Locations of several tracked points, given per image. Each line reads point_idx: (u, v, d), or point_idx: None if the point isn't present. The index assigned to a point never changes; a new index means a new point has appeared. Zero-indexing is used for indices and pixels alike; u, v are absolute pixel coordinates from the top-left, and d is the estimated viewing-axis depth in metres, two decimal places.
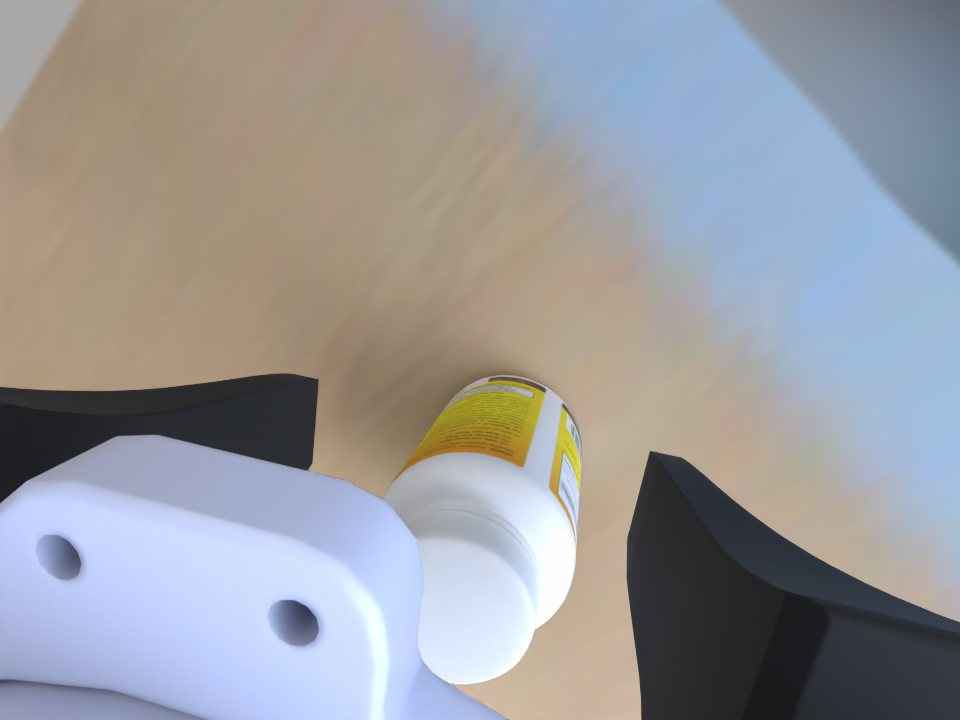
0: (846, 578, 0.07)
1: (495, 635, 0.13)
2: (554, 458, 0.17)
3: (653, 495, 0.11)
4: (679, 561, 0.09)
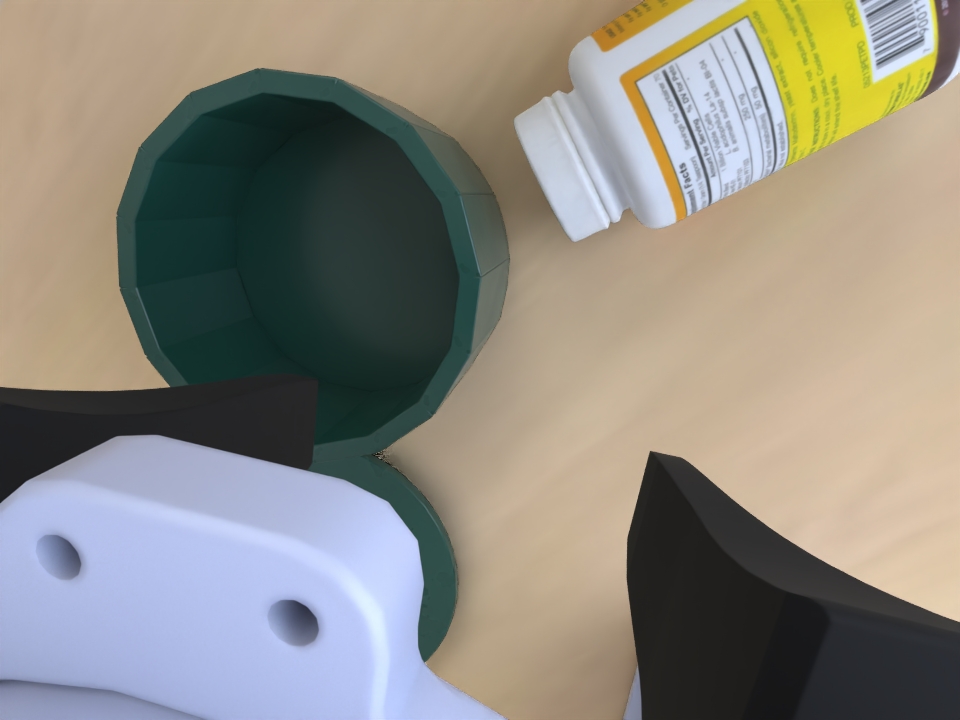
0: (846, 578, 0.07)
1: None
2: (696, 32, 0.13)
3: (653, 495, 0.11)
4: (679, 561, 0.09)
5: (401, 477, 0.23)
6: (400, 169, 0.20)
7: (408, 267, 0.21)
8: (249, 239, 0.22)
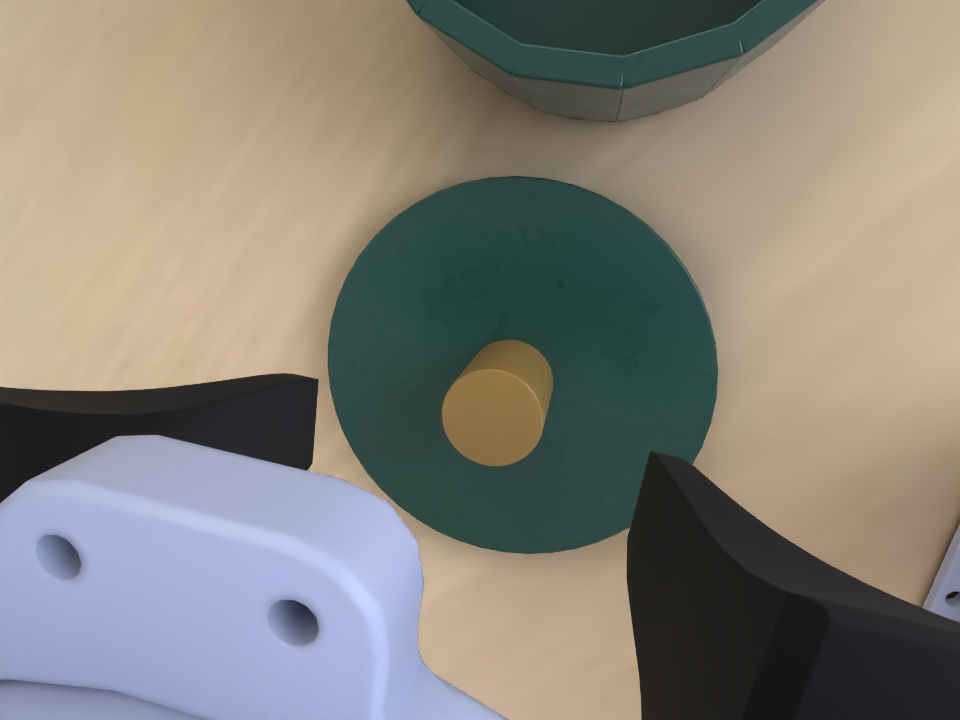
0: (846, 578, 0.07)
1: None
2: None
3: (653, 495, 0.11)
4: (679, 561, 0.09)
5: None
6: None
7: None
8: None
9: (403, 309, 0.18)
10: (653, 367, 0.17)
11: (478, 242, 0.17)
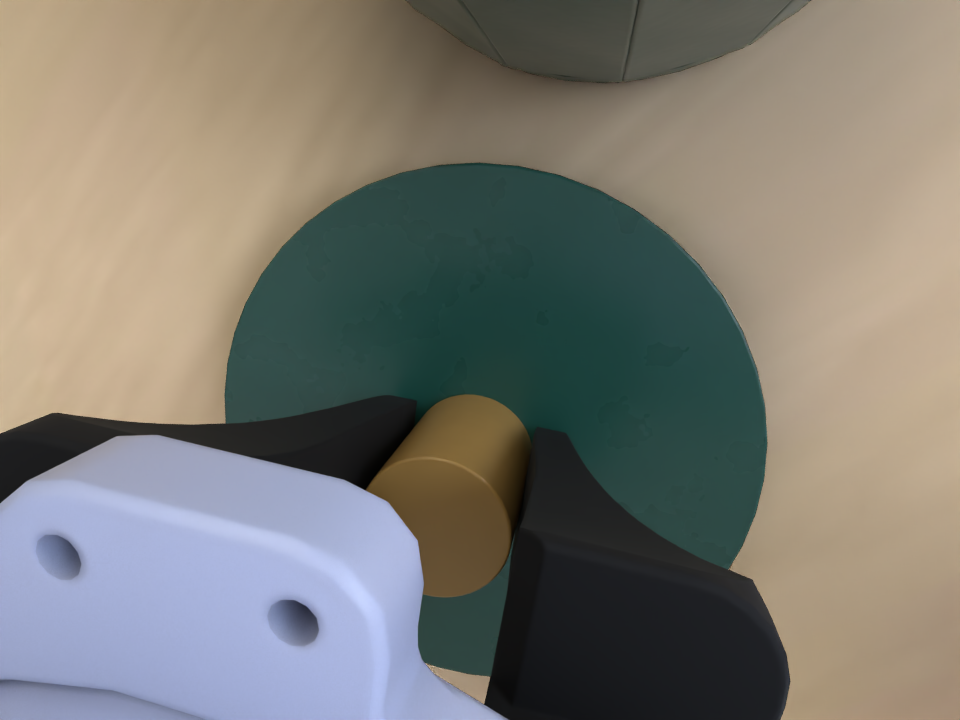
0: (641, 530, 0.07)
1: None
2: None
3: (528, 467, 0.11)
4: None
5: (671, 237, 0.11)
6: None
7: None
8: None
9: (323, 350, 0.13)
10: (674, 436, 0.12)
11: (424, 258, 0.12)
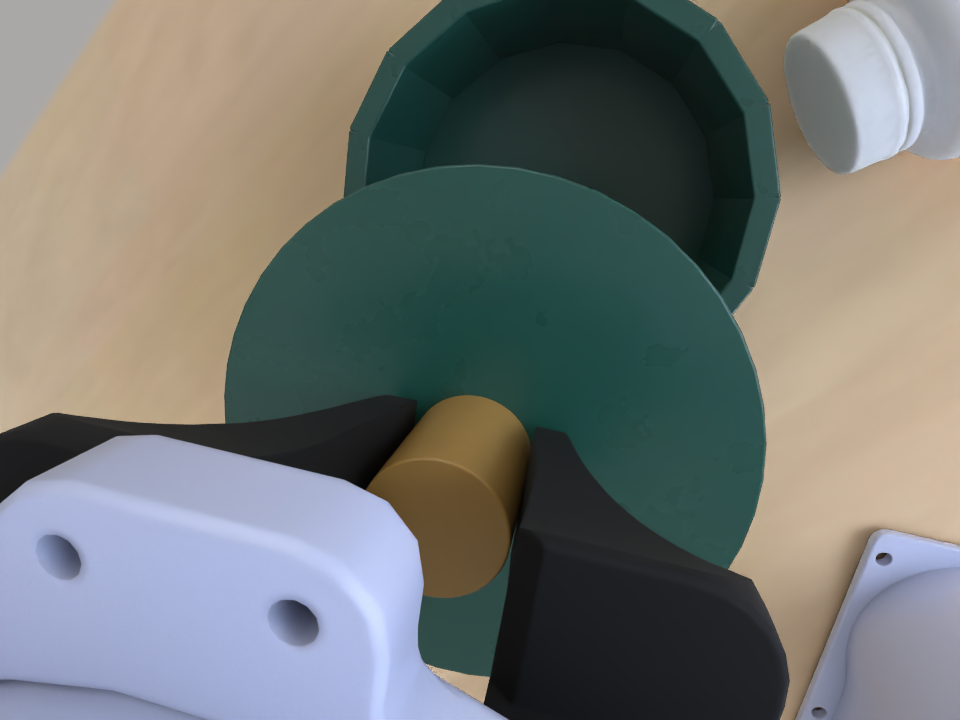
0: (640, 530, 0.07)
1: (840, 131, 0.15)
2: None
3: (528, 467, 0.11)
4: None
5: (670, 238, 0.11)
6: (618, 99, 0.19)
7: None
8: None
9: (323, 351, 0.13)
10: (673, 437, 0.12)
11: (423, 259, 0.12)
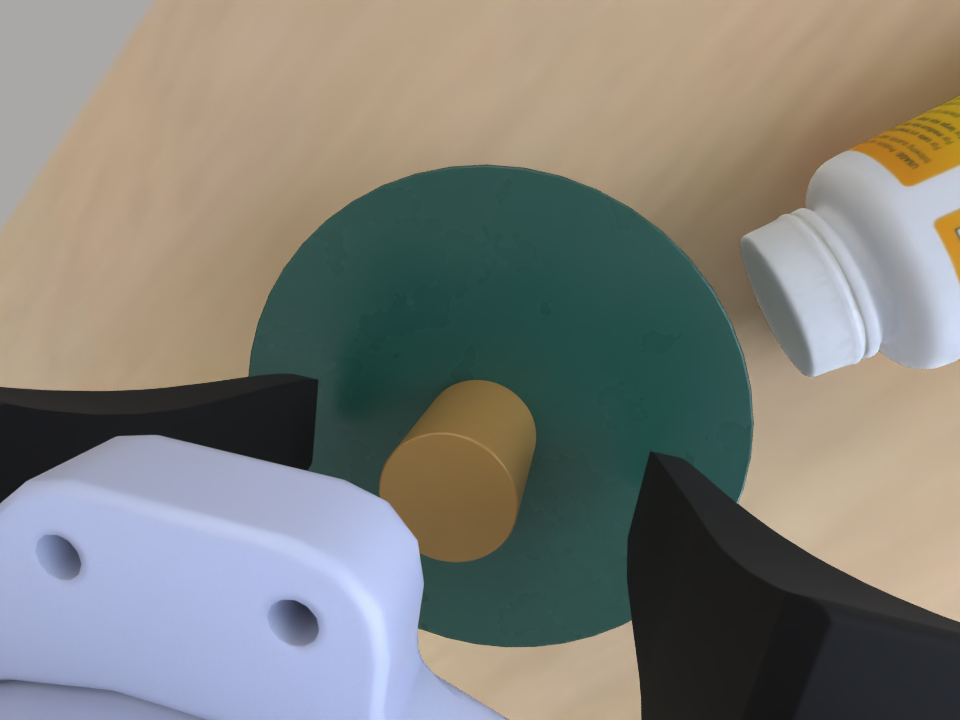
0: (846, 578, 0.07)
1: (795, 342, 0.14)
2: None
3: (653, 495, 0.11)
4: (679, 561, 0.09)
5: (664, 234, 0.12)
6: None
7: None
8: None
9: (341, 339, 0.14)
10: (667, 418, 0.13)
11: (436, 253, 0.13)
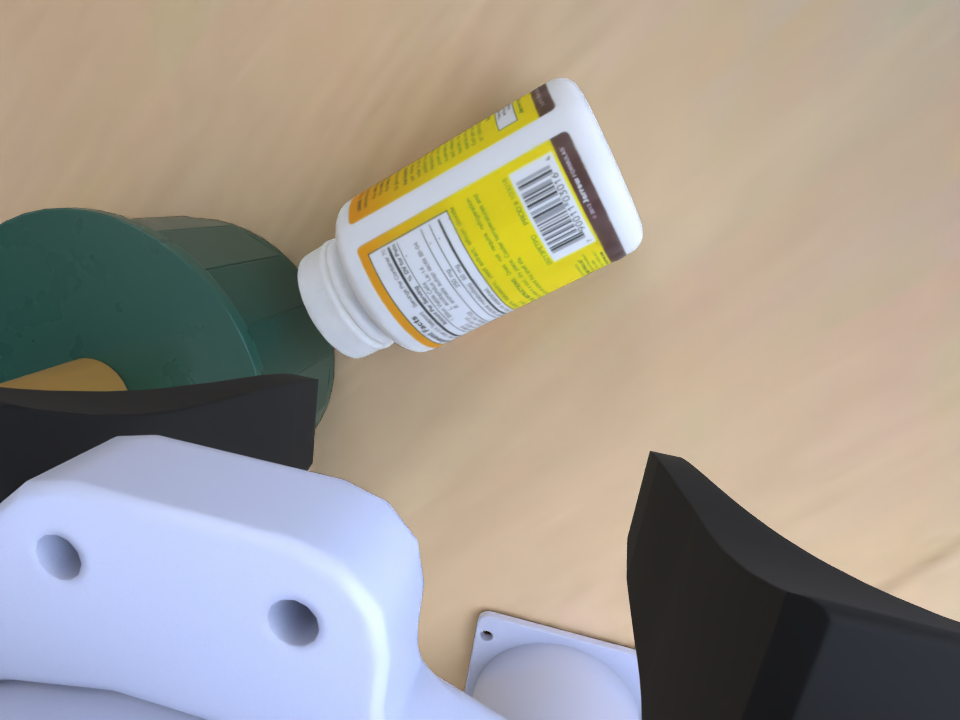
0: (846, 578, 0.07)
1: None
2: (412, 218, 0.17)
3: (653, 495, 0.11)
4: (679, 561, 0.09)
5: (186, 256, 0.17)
6: None
7: None
8: None
9: None
10: None
11: (45, 268, 0.18)
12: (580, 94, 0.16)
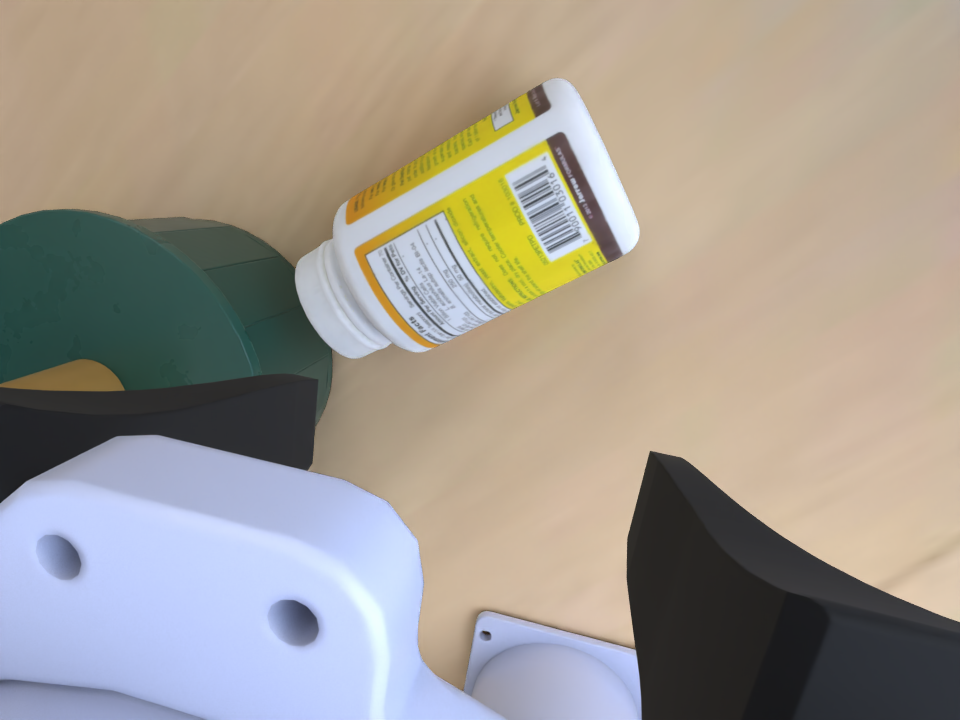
0: (846, 578, 0.07)
1: None
2: (408, 218, 0.17)
3: (653, 495, 0.11)
4: (679, 561, 0.09)
5: (183, 257, 0.18)
6: None
7: None
8: None
9: None
10: None
11: (43, 269, 0.18)
12: (576, 94, 0.16)
